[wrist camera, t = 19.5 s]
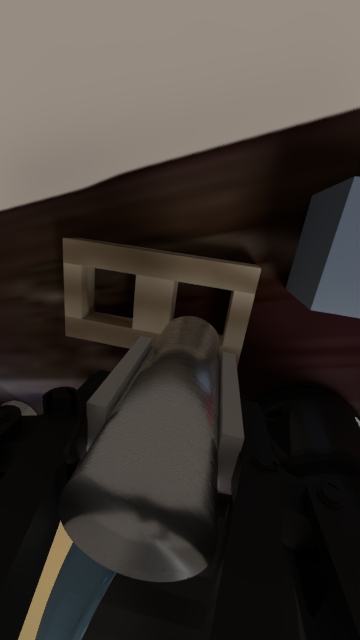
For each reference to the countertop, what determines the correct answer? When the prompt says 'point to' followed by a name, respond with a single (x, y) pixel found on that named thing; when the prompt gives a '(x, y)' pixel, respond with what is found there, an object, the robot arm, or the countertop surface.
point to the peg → (155, 465)
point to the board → (150, 291)
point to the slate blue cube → (330, 252)
